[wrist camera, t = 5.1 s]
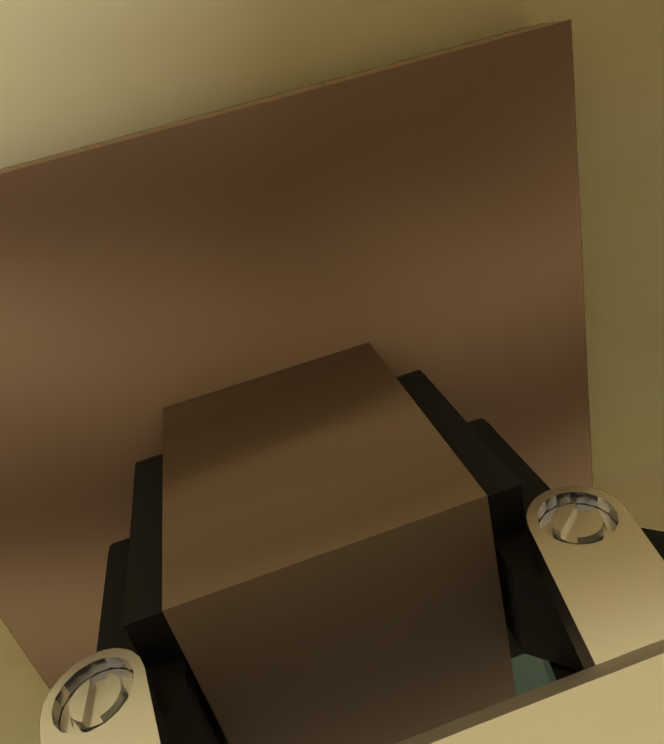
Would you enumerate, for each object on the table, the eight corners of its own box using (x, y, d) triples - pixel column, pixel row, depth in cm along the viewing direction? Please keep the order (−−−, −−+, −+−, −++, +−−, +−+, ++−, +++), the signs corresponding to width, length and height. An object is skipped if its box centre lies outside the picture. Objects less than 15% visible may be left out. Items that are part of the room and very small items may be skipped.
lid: (-218, 228, 10) (-655, 400, 5) (539, 24, 11) (867, -23, 6) (105, 728, 16) (76, 1054, 11) (574, 553, 17) (756, 763, 12)
